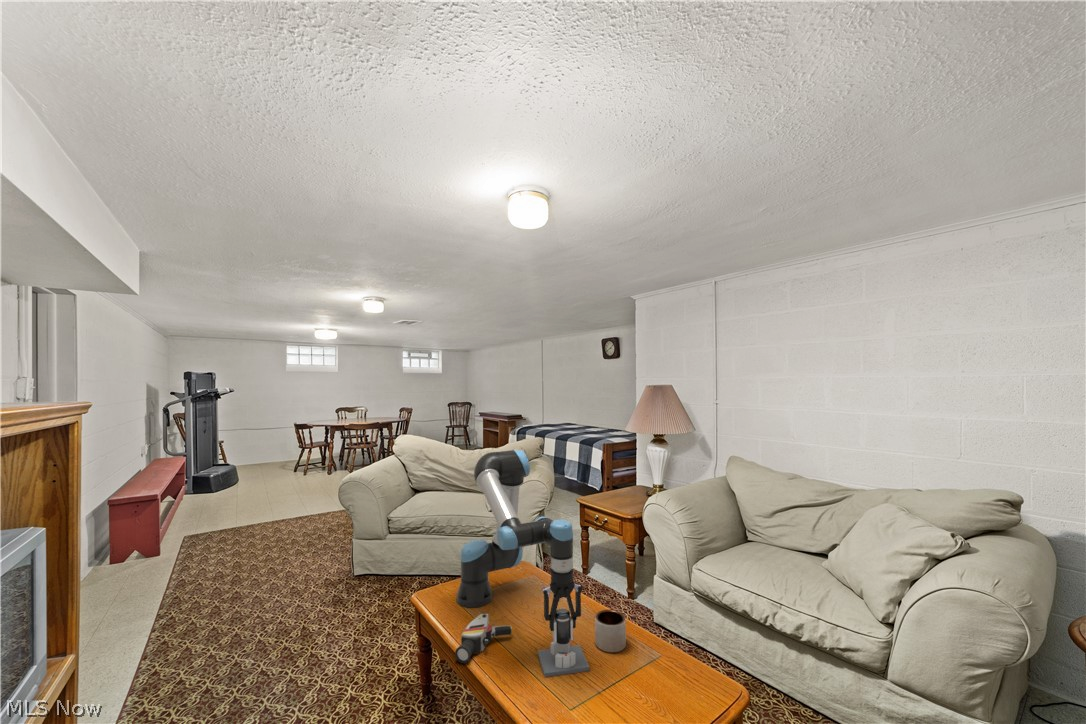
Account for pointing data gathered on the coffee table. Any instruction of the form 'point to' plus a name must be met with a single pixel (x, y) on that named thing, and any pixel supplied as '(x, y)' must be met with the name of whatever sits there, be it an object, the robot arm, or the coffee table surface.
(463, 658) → the film camera
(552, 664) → the mount
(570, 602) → the robot arm
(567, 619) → the lens
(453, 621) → the coffee table surface
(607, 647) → the planter
